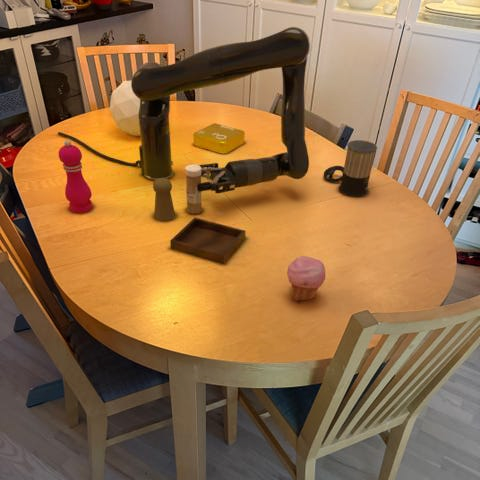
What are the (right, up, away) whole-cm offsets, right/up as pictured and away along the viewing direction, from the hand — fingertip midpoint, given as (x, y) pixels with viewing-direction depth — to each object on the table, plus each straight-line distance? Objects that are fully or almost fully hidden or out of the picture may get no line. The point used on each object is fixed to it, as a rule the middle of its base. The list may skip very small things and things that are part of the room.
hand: (192, 181), depth 133 cm
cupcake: (+28, -34, -22) cm, 49 cm away
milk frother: (+48, +5, +23) cm, 53 cm away
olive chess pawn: (-8, -9, +3) cm, 13 cm away
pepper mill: (-33, -7, +5) cm, 34 cm away
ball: (-26, +33, +50) cm, 66 cm away
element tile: (+6, +28, +45) cm, 53 cm away
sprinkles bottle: (0, -7, +6) cm, 10 cm away
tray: (+5, -19, -7) cm, 21 cm away
